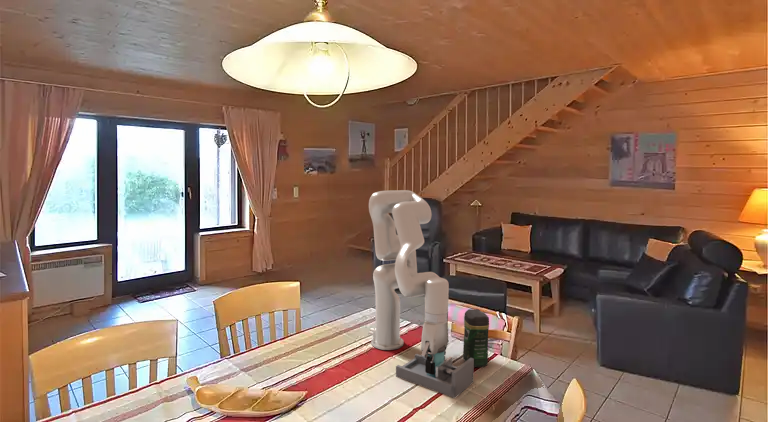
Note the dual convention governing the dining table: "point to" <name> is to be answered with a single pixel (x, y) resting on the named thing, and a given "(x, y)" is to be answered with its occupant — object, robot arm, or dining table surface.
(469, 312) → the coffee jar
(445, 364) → the pusher plate
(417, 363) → the grey divided tray
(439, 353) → the spice jar
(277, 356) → the dining table surface
